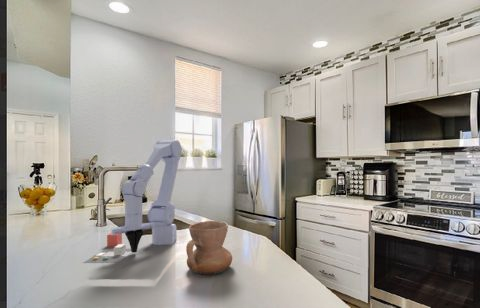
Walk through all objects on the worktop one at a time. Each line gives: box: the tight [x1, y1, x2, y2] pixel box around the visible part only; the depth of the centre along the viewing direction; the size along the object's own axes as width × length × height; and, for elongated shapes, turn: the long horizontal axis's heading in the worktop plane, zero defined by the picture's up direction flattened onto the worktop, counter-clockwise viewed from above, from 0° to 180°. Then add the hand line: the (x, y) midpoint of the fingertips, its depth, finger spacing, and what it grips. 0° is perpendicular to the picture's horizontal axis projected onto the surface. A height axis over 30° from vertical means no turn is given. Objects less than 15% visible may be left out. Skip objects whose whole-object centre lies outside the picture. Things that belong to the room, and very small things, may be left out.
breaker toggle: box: [113, 243, 126, 255], centre depth 97 cm, size 2×4×3 cm, turn 178°
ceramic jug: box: [185, 220, 233, 275], centre depth 86 cm, size 18×14×14 cm
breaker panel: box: [82, 248, 133, 264], centre depth 96 cm, size 12×14×2 cm
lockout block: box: [106, 232, 123, 247], centre depth 108 cm, size 4×4×6 cm
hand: (134, 251), depth 97 cm, fingers closed
